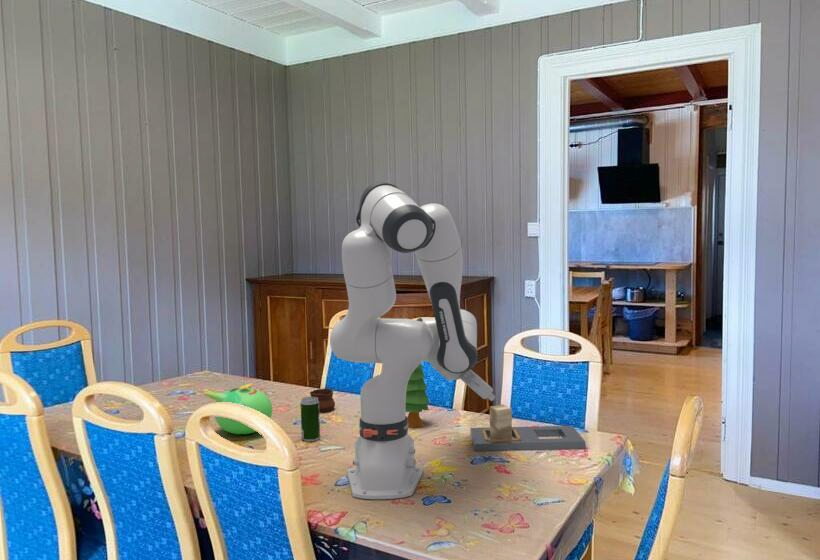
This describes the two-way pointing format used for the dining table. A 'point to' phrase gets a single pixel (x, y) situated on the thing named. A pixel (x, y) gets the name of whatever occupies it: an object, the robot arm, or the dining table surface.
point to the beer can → (310, 419)
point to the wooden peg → (500, 422)
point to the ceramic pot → (324, 399)
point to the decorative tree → (416, 397)
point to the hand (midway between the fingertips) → (485, 391)
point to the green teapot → (242, 397)
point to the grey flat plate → (529, 439)
